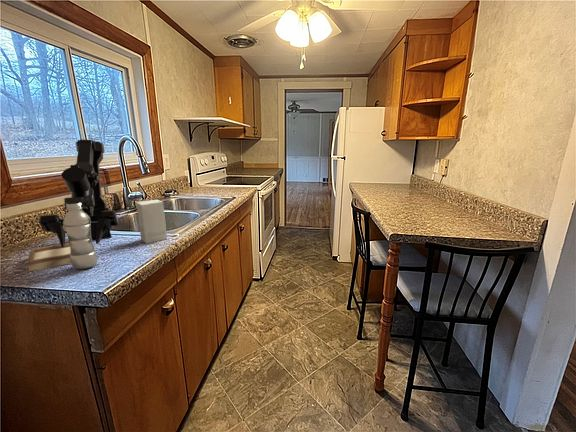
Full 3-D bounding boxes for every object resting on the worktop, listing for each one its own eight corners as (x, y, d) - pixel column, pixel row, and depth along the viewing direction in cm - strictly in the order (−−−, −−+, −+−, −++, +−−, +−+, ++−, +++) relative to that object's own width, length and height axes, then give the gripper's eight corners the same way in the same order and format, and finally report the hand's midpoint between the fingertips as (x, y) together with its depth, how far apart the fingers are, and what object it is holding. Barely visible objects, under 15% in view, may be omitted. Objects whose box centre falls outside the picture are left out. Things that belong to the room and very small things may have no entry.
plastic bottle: (103, 264, 85) (93, 201, 80) (81, 273, 79) (69, 205, 74) (89, 261, 87) (78, 200, 82) (66, 270, 81) (53, 204, 76)
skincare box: (161, 235, 113) (158, 199, 110) (168, 239, 109) (164, 201, 105) (140, 240, 108) (135, 201, 104) (145, 244, 103) (140, 204, 99)
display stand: (81, 249, 97) (80, 241, 96) (84, 260, 87) (82, 252, 87) (32, 257, 89) (30, 249, 88) (29, 271, 79) (27, 262, 79)
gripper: (34, 187, 77) (26, 236, 70) (111, 184, 85) (112, 228, 78) (48, 209, 85) (43, 254, 78) (118, 204, 93) (119, 245, 86)
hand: (80, 245), depth 80 cm, fingers open, 8 cm apart
